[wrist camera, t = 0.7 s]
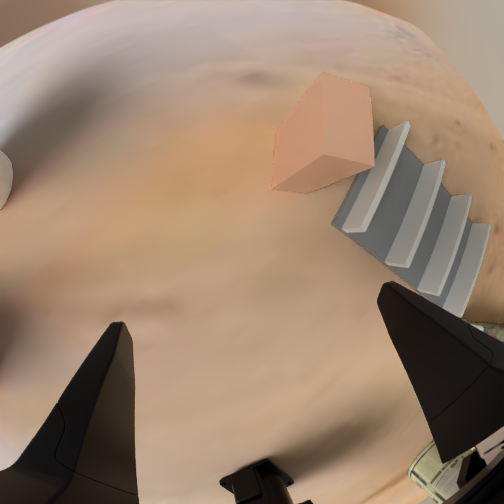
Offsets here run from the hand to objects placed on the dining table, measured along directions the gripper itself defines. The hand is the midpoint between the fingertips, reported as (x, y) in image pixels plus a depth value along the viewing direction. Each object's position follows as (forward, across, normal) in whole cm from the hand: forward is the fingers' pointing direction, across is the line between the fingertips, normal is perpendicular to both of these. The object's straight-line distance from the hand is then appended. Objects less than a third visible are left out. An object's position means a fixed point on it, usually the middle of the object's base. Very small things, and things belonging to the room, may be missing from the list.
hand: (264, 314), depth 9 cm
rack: (+12, -20, +5) cm, 24 cm away
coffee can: (-8, -29, +39) cm, 49 cm away
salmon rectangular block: (+16, -6, 0) cm, 17 cm away
